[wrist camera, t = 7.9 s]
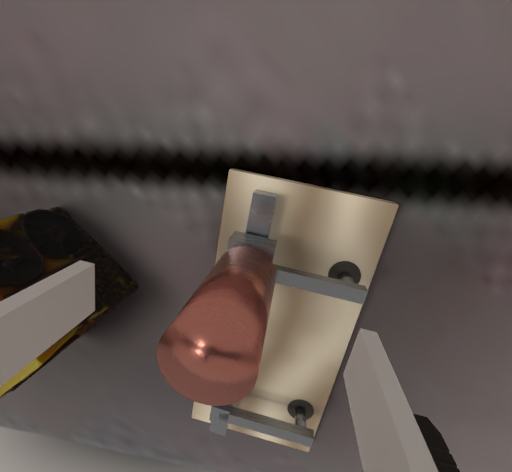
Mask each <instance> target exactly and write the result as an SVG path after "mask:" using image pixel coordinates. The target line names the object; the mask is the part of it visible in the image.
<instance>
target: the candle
mask: <svg viewBox="0 0 512 472" xmlns="http://www.w3.org/2000/svg"><path fill="white" fill-rule="evenodd" d="M80 260H81V261H85V262H89V263H93V264H95V311H94V312H93V313H91V314H90V315H89V316H88V317H87V318H85V319H84V320H83V321H82V322H80V323H79V324H78V325H77V326H75V327H74V328H73V329H72V330H70V331H69V332H68V333H67V334H65V335H64V336H63V337H62V338H60V339H59V340H58V341H57V342H55V343H54V344H53V345H52V346H50V347H49V348H48V349H47V350H45V351H44V352H43V353H42V354H40V355H39V356H38V357H37V358H35V359H34V360H33V361H32V362H31V363H29V364H28V365H27V366H26V367H24V368H23V369H22V370H21V371H19V372H18V373H17V374H16V375H14V376H13V377H12V378H11V379H9V380H8V381H7V382H6V383H4V384H3V385H2V386H1V387H0V398H1V397H3V396H4V395H5V394H7V393H9V392H10V391H14V390H15V389H16V388H17V387H19V386H20V385H21V384H22V383H23V382H25V381H26V380H27V379H28V378H30V377H31V376H32V375H34V374H35V373H36V372H37V371H38V370H40V369H41V368H42V367H43V366H45V365H46V364H47V363H48V362H50V361H51V360H52V359H53V358H55V357H56V356H57V355H58V354H59V353H60V352H61V351H63V350H64V349H65V348H67V347H68V346H69V345H70V344H71V343H72V342H73V341H75V340H76V339H77V338H79V337H80V336H81V335H83V334H84V333H85V332H87V331H88V330H89V329H90V328H91V327H93V326H94V325H96V323H97V322H99V321H100V320H101V319H102V318H103V317H104V316H106V315H107V314H108V313H109V312H111V310H113V309H115V306H117V305H118V304H119V303H120V302H121V301H122V300H123V299H125V298H127V297H128V296H129V295H130V294H131V293H133V292H135V289H137V288H138V287H137V284H136V283H135V282H133V281H132V280H131V279H130V277H129V276H128V275H127V274H126V273H125V272H123V271H122V269H121V268H120V266H119V265H118V264H117V263H116V262H115V261H114V260H112V259H111V257H110V256H109V255H108V254H107V253H106V252H105V251H104V250H103V249H102V248H101V247H99V246H98V245H97V244H96V242H95V241H94V240H93V239H91V238H90V237H89V235H88V234H87V233H85V232H84V231H83V230H82V229H81V228H80V227H79V226H78V225H77V224H76V223H75V222H74V221H73V220H72V219H71V218H70V216H69V215H68V214H67V212H65V211H64V210H62V209H61V208H59V207H55V208H51V209H49V210H42V209H39V210H35V211H31V212H28V213H27V214H19V215H15V216H12V217H9V218H6V219H2V220H0V302H1V301H3V300H4V299H6V298H8V297H10V296H12V295H14V294H16V293H18V292H20V291H22V290H24V289H26V288H28V287H30V286H32V285H34V284H35V283H37V282H39V281H41V280H43V279H45V278H47V277H49V276H51V275H53V274H55V273H57V272H59V271H61V270H63V269H65V268H67V267H68V266H70V265H72V264H74V263H76V262H78V261H80Z"/></svg>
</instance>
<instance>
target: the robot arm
mask: <svg viewBox="0 0 512 472" xmlns="http://www.w3.org/2000/svg"><path fill="white" fill-rule="evenodd" d="M94 311H95V264H93V263H89V262H85V261H81V260H80V261H78V262H76V263H74V264H72V265H70V266H68V267H67V268H65V269H63V270H61V271H59V272H57V273H55V274H53V275H51V276H49V277H47V278H45V279H43V280H41V281H39V282H37V283H35V284H34V285H32V286H30V287H28V288H26V289H24V290H22V291H20V292H18V293H16V294H14V295H12V296H10V297H8V298H6V299H4V300H3V301H1V302H0V387H1V386H2V385H3V384H4V383H6V382H7V381H8V380H9V379H11V378H12V377H13V376H14V375H16V374H17V373H18V372H19V371H21V370H22V369H23V368H24V367H26V366H27V365H28V364H29V363H31V362H32V361H33V360H34V359H35V358H37V357H38V356H39V355H40V354H42V353H43V352H44V351H45V350H47V349H48V348H49V347H50V346H52V345H53V344H54V343H55V342H57V341H58V340H59V339H60V338H62V337H63V336H64V335H65V334H67V333H68V332H69V331H70V330H72V329H73V328H74V327H75V326H77V325H78V324H79V323H80V322H82V321H83V320H84V319H85V318H87V317H88V316H89V315H90V314H91V313H93V312H94ZM343 377H344V381H345V386H346V391H347V396H348V400H349V405H350V410H351V415H352V420H353V424H354V429H355V434H356V439H357V444H358V448H359V453H360V458H361V463H362V467H363V472H460V471H459V469H457V465H456V463H455V461H454V459H453V457H452V455H451V454H450V453H449V449H448V447H447V445H446V443H445V441H444V439H443V437H442V435H441V433H440V432H439V431H438V430H437V429H436V427H435V426H434V425H433V424H432V423H431V421H430V420H429V419H428V418H427V417H424V416H420V415H416V414H413V413H412V411H411V408H410V406H409V404H408V402H407V399H406V397H405V395H404V392H403V390H402V388H401V386H400V383H399V381H398V379H397V377H396V374H395V372H394V370H393V368H392V365H391V363H390V361H389V359H388V356H387V354H386V352H385V349H384V347H383V345H382V343H381V340H380V338H379V336H378V334H377V332H374V331H370V330H366V329H362V328H360V330H359V333H358V335H357V338H356V341H355V343H354V346H353V349H352V351H351V354H350V357H349V359H348V362H347V365H346V367H345V370H344V373H343Z"/></svg>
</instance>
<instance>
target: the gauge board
mask: <svg viewBox="0 0 512 472" xmlns="http://www.w3.org/2000/svg"><path fill="white" fill-rule="evenodd" d="M256 189H257V190H262V191H266V192H271V193H276V194H278V196H277V201H276V206H275V210H274V215H273V220H272V224H271V229H270V234H269V239H274V240H277V244H276V248H275V253H274V257H273V262H272V263H273V264H276V265H280V266H284V267H288V268H293V269H297V270H301V271H305V272H309V273H314V274H318V275H322V276H326V277H330V278H335V279H338V275H339V274H340V273H341V272H348V273H350V274H351V276H352V278H353V281H354V283H356V284H360V285H364V286H366V288H367V290H368V288H369V286H370V283H371V280H372V278H373V275H374V272H375V269H376V267H377V264H378V261H379V258H380V256H381V253H382V250H383V247H384V245H385V242H386V239H387V236H388V234H389V231H390V228H391V226H392V223H393V220H394V217H395V215H396V212H397V209H398V206H399V205H398V204H397V203H395V202H392V201H388V200H383V199H378V198H373V197H369V196H364V195H359V194H354V193H349V192H345V191H340V190H335V189H330V188H325V187H321V186H316V185H311V184H306V183H302V182H297V181H292V180H287V179H282V178H278V177H273V176H268V175H263V174H258V173H254V172H249V171H244V170H239V169H235V168H232V169H229V174H228V181H227V187H226V194H225V201H224V207H223V214H222V220H221V227H220V234H219V240H218V247H217V253H216V260H215V264H216V263H217V262H218V260H219V259H220V258H221V256H222V255H223V254H224V253H225V252H226V251H227V247H228V241H229V238H230V237H231V235H232V234H233V233H234V232H235V231H239V232H243V233H246V228H247V222H248V217H249V211H250V206H251V201H252V195H253V192H254V191H255V190H256ZM362 305H363V304H359V303H355V302H351V301H347V300H343V299H338V298H334V297H330V296H326V295H322V294H318V293H314V292H310V291H306V290H302V289H297V288H293V287H289V286H285V285H281V284H277V283H275V287H274V293H273V298H272V303H271V308H270V314H269V319H268V324H267V329H266V335H265V340H264V345H263V351H262V356H261V361H260V366H259V372H258V377H257V381H256V384H255V386H254V388H253V389H252V391H251V392H250V393H249V394H248V395H247V396H246V397H245V398H243V399H242V400H240V401H238V402H236V403H233V407H236V408H240V409H243V410H247V411H250V412H254V413H257V414H261V415H264V416H268V417H271V418H275V419H278V420H282V421H285V422H289V423H292V424H295V408H296V407H297V406H303V407H304V408H305V409H306V428H309V429H313V430H314V436H315V433H316V431H317V428H318V425H319V423H320V420H321V417H322V414H323V412H324V409H325V406H326V403H327V401H328V398H329V395H330V392H331V390H332V387H333V384H334V382H335V379H336V376H337V373H338V371H339V368H340V365H341V362H342V360H343V357H344V354H345V351H346V349H347V346H348V343H349V340H350V338H351V335H352V332H353V330H354V327H355V324H356V321H357V319H358V316H359V313H360V310H361V308H362ZM210 412H211V405H205V404H200V403H197V402H194V405H193V412H192V418H194V419H198V420H201V421H204V422H208V423H211V421H210V420H209V417H210ZM228 429H231V430H235V431H238V432H241V433H245V434H248V435H252V436H255V437H258V438H262V439H265V440H268V441H272V442H275V443H279V444H282V445H285V446H289V447H292V448H296V449H299V450H302V451H306V452H309V450H310V447H308V446H304V445H301V444H297V443H294V442H291V441H287V440H284V439H280V438H277V437H274V436H270V435H267V434H263V433H260V432H257V431H253V430H250V429H246V428H243V427H240V426H236V425H233V424H230V423H229V424H228Z"/></svg>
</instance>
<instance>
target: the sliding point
mask: <svg viewBox="0 0 512 472" xmlns="http://www.w3.org/2000/svg"><path fill="white" fill-rule="evenodd" d="M276 244H277V240H274V239H269V238H265V237H261V236H256V235H252V234H248V233H243V232H239V231H235V232H234V233H233V234H232V235H231V237H230V238H229V241H228V247H227V251H226V252H225V253H224V254H223V255H222V256H221V258H220V259H219V260H218V262H217V263H216V264H215V266H214V267H213V268H212V270H211V271H210V272H209V274H208V275H207V276H206V278H205V279H204V281H203V282H202V283H201V285H200V286H199V287H198V289H197V290H196V291H195V293H194V294H193V295H192V297H191V298H190V299H189V301H188V302H187V303H186V305H185V306H184V307H183V309H182V310H181V312H180V313H179V314H178V316H177V317H176V318H175V320H174V321H173V322H172V324H171V325H170V326H169V328H168V329H167V330H166V332H165V333H164V334H163V336H162V337H161V339H160V341H159V344H158V348H157V361H158V365H159V368H160V371H161V373H162V375H163V376H164V378H165V379H166V381H167V382H168V383H169V384H170V386H171V387H172V388H173V389H175V390H176V391H177V392H178V393H180V394H181V395H183V396H184V397H186V398H188V399H190V400H192V401H194V402H197V403H200V404H205V405H211V406H224V405H229V404H233V403H236V402H238V401H240V400H242V399H243V398H245V397H246V396H247V395H248V394H249V393H250V392H251V391H252V389H253V388H254V386H255V384H256V381H257V377H258V372H259V366H260V361H261V356H262V351H263V345H264V340H265V335H266V329H267V324H268V319H269V314H270V308H271V303H272V298H273V293H274V287H275V283H277V284H281V285H285V286H289V287H293V288H297V289H302V290H306V291H310V292H314V293H318V294H322V295H326V296H330V297H334V298H338V299H343V300H347V301H351V302H355V303H359V304H364V301H365V299H366V296H367V293H368V290H367V288H366V286H364V285H360V284H356V283H354V281H353V278H352V276H351V274H350V273H348V272H341V273H340V274H339V275H338V279H335V278H330V277H326V276H322V275H318V274H314V273H309V272H305V271H301V270H297V269H293V268H288V267H284V266H280V265H276V264H273V263H272V262H273V257H274V253H275V248H276Z"/></svg>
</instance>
